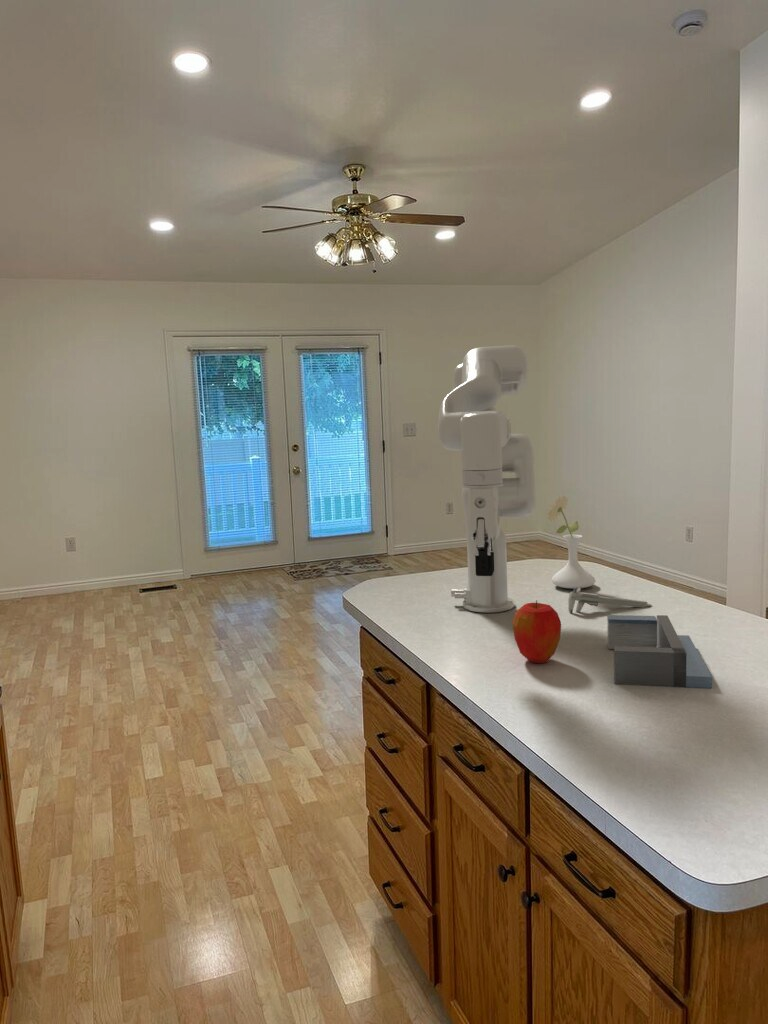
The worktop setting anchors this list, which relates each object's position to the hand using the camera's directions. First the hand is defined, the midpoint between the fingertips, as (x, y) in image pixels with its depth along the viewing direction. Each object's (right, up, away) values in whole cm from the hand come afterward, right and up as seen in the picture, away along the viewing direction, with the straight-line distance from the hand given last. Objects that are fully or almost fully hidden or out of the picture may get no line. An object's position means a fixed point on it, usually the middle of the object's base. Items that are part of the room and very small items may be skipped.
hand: (485, 573), depth 135 cm
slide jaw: (+30, -15, +4) cm, 33 cm away
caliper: (+34, -12, +31) cm, 48 cm away
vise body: (+31, -16, -4) cm, 35 cm away
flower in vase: (+31, -9, +53) cm, 62 cm away
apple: (+10, -17, 0) cm, 20 cm away
